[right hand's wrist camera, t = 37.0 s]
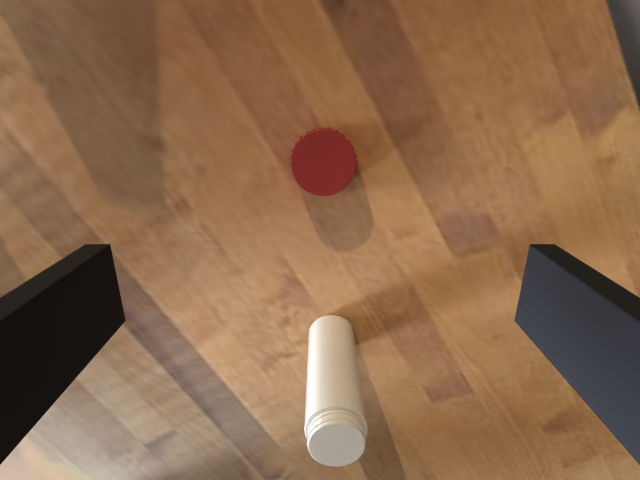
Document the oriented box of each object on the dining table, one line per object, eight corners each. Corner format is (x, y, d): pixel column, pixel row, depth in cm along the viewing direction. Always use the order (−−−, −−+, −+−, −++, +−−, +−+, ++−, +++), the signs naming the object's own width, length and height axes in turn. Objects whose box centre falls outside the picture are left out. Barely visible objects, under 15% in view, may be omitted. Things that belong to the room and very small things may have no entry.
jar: (318, 308, 42) (317, 412, 28) (361, 323, 43) (380, 431, 29) (302, 345, 44) (294, 460, 30) (343, 358, 44) (354, 477, 31)
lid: (323, 205, 38) (323, 209, 37) (277, 161, 37) (275, 164, 35) (368, 160, 37) (370, 163, 35) (322, 113, 35) (322, 113, 34)
